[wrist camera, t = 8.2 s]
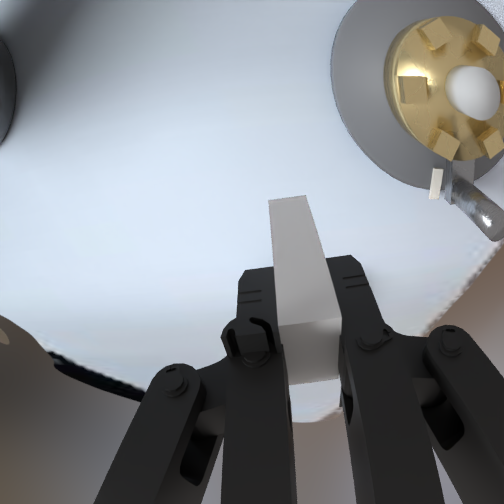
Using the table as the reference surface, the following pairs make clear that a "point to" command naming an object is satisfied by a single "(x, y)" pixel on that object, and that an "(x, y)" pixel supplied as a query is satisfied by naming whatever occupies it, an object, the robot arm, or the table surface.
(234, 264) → the table surface
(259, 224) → the table surface
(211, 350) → the table surface
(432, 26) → the gold crank wheel
